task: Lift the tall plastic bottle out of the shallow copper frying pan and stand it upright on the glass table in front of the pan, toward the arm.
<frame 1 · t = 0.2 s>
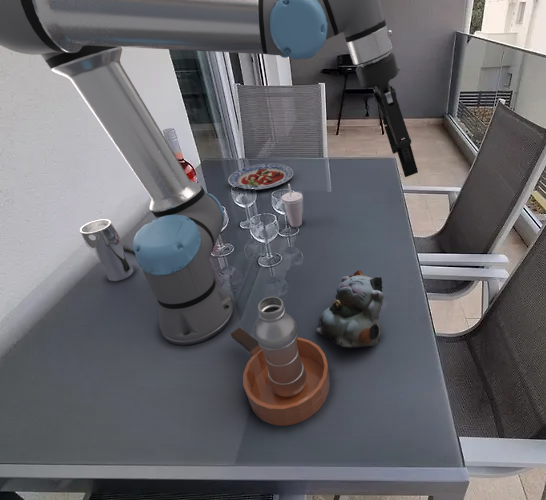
hand: (404, 162, 76), 28 cm above the table, tool tilted 20°, fingers open, 13 cm apart
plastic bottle: (289, 386, 63), resting on pan
pan handle: (248, 344, 67), point 4 cm above the table
smoothie: (296, 224, 111), on the table
silver metal cup: (121, 274, 93), on the table
lucky cat figurine: (351, 328, 74), on the table
ceramic plate: (262, 180, 141), on the table
pan: (289, 386, 63), on the table
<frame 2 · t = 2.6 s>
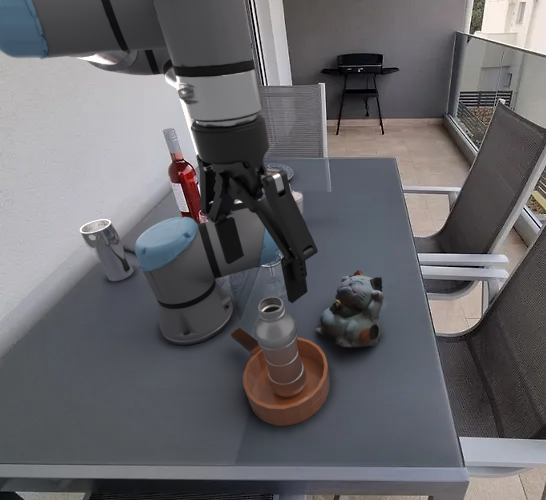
hand: (264, 276, 48), 26 cm above the table, tool pointing down, fingers open, 13 cm apart
nothing on the table moved.
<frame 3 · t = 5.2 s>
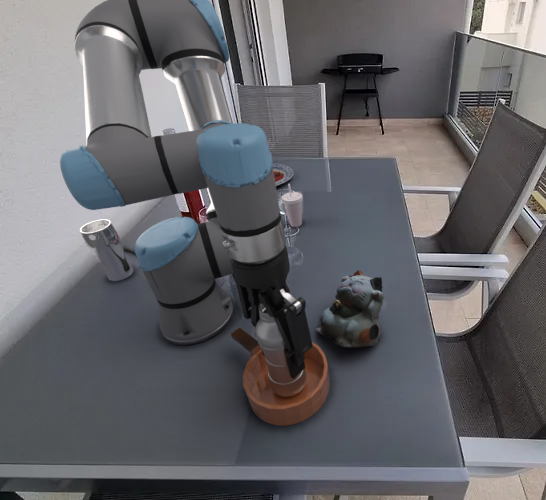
hand: (283, 361, 59), 7 cm above the table, tool pointing down, fingers closed on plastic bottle, 6 cm apart
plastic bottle: (289, 386, 63), resting on pan, touching gripper
everything else where it was.
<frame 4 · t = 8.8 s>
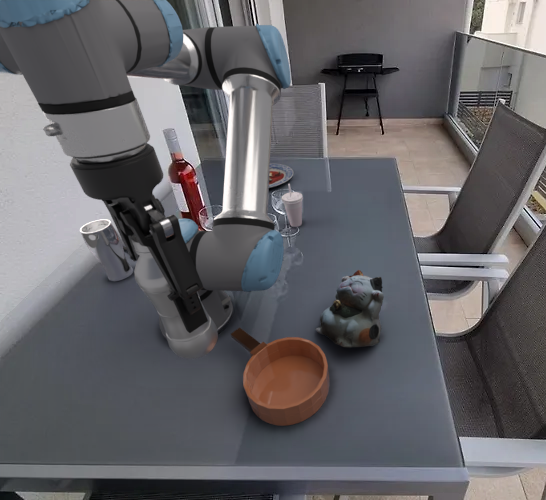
hand: (183, 314, 48), 22 cm above the table, tool pointing down, fingers closed on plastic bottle, 6 cm apart
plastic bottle: (198, 348, 52), point 15 cm above the table, touching gripper
everything else where it was.
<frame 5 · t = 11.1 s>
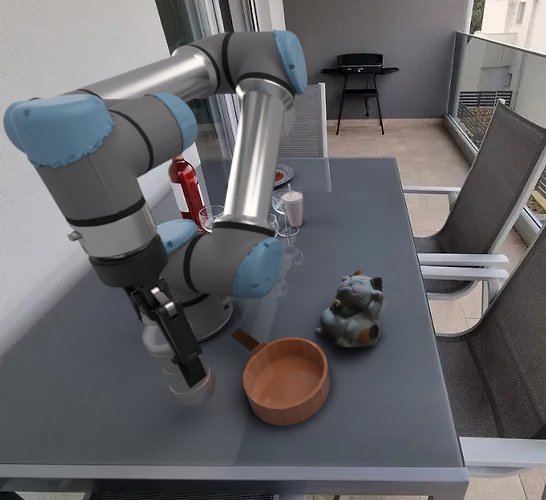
hand: (185, 368, 53), 12 cm above the table, tool pointing down, fingers closed on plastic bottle, 6 cm apart
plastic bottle: (198, 395, 57), point 5 cm above the table, touching gripper
everything else where it was.
when the fingers open (7 cm above the table, at t = 12.6 s): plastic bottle stays where it is, on the table.
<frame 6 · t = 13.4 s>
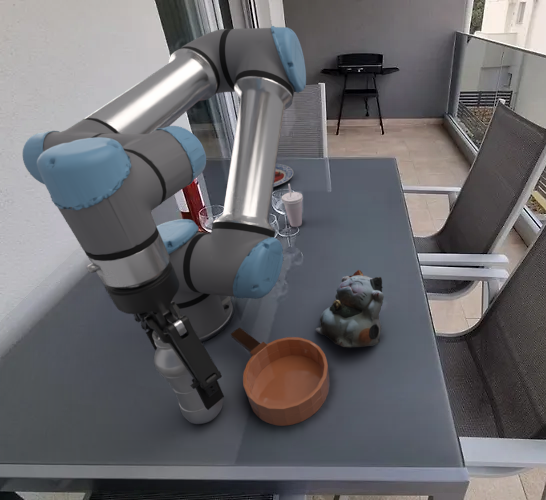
hand: (190, 377, 55), 9 cm above the table, tool pointing down, fingers open, 13 cm apart
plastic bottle: (206, 411, 60), on the table
everything else where it was.
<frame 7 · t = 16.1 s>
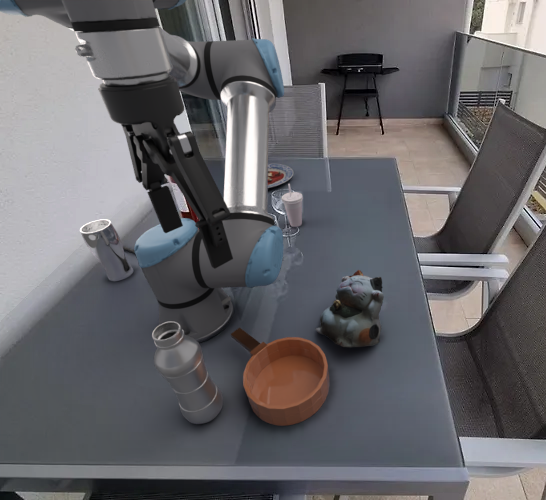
hand: (196, 244, 49), 29 cm above the table, tool pointing down, fingers open, 13 cm apart
nothing on the table moved.
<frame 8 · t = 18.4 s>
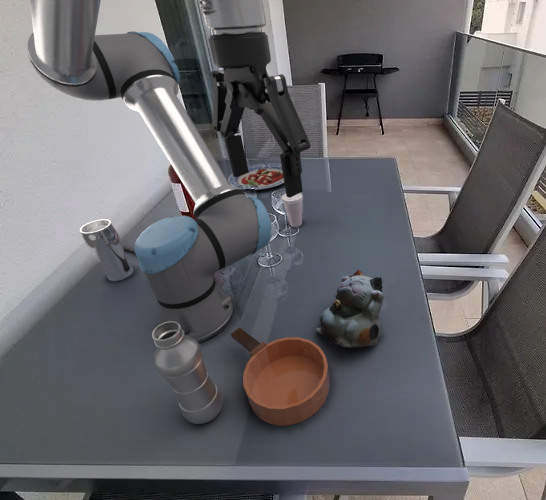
hand: (266, 183, 57), 33 cm above the table, tool pointing down, fingers open, 13 cm apart
nothing on the table moved.
at the end: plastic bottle inside the target area (0.1 cm from its centre), on the table; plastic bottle tilted 0°; the gripper is holding nothing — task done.
